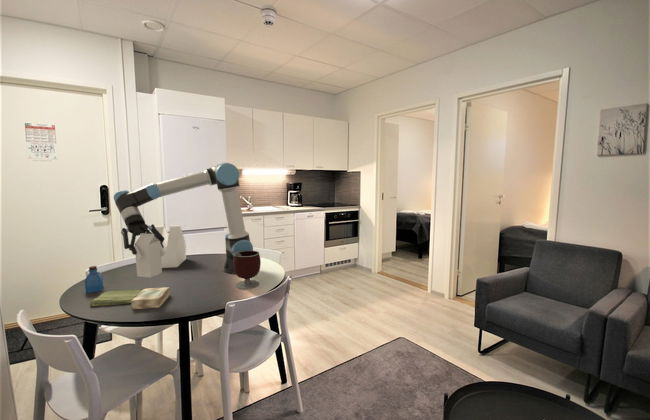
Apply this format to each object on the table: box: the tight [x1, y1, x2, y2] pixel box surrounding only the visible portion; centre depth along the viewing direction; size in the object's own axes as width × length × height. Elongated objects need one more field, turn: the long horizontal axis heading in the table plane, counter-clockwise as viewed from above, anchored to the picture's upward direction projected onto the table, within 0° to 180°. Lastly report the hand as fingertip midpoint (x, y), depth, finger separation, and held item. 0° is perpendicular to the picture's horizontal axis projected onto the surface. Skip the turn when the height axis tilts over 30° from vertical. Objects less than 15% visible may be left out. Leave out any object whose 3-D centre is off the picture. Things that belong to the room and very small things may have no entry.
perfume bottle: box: [84, 265, 104, 294], centre depth 153 cm, size 6×6×12 cm
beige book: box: [131, 286, 171, 310], centre depth 139 cm, size 11×14×4 cm
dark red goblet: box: [231, 250, 262, 290], centre depth 159 cm, size 16×14×20 cm
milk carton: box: [134, 233, 163, 278], centre depth 137 cm, size 7×7×19 cm
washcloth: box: [89, 289, 142, 307], centre depth 142 cm, size 13×18×3 cm
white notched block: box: [154, 225, 187, 269], centre depth 200 cm, size 19×15×25 cm
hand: (152, 256), depth 135 cm, fingers closed on milk carton, 9 cm apart
